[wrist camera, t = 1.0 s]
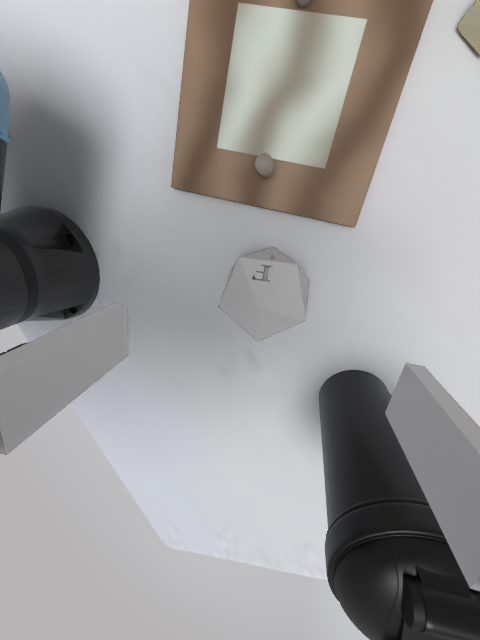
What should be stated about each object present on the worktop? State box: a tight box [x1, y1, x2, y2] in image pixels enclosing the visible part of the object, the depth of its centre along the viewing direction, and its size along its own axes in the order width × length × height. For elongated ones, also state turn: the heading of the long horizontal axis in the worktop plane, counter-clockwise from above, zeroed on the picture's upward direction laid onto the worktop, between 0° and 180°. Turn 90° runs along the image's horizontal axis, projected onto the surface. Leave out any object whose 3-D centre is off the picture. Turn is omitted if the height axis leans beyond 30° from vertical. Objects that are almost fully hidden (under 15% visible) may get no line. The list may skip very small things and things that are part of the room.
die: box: [218, 247, 309, 342], centre depth 28 cm, size 8×9×10 cm
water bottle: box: [319, 370, 480, 640], centre depth 24 cm, size 10×10×23 cm
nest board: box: [171, 0, 433, 227], centre depth 24 cm, size 20×20×4 cm
